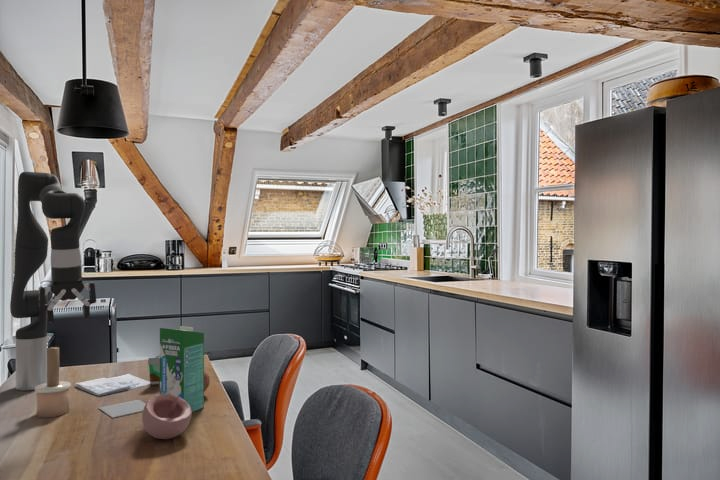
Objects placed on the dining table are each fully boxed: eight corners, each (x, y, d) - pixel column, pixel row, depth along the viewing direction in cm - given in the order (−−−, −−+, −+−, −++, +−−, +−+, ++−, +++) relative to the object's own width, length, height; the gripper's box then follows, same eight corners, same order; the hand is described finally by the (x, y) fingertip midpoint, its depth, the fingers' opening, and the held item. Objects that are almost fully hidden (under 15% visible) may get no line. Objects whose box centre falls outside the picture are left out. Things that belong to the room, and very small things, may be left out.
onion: (173, 398, 173) (173, 367, 173) (191, 391, 182) (191, 361, 182) (197, 402, 170) (197, 370, 170) (215, 394, 179) (215, 363, 179)
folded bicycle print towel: (73, 387, 187) (73, 381, 187) (130, 376, 203) (130, 370, 203) (98, 398, 175) (98, 392, 175) (156, 385, 190) (156, 379, 190)
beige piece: (31, 388, 159) (31, 347, 159) (65, 382, 166) (65, 343, 166) (39, 395, 153) (39, 352, 153) (74, 389, 159) (74, 348, 159)
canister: (33, 412, 159) (33, 388, 159) (64, 406, 165) (64, 383, 165) (40, 419, 153) (40, 394, 153) (72, 412, 159) (72, 389, 159)
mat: (98, 408, 163) (98, 407, 163) (138, 400, 171) (138, 399, 171) (112, 418, 154) (112, 417, 154) (154, 409, 163) (154, 408, 163)
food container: (163, 388, 185) (164, 359, 185) (147, 387, 186) (147, 358, 186) (182, 379, 197) (182, 351, 197) (167, 378, 199) (167, 350, 198)
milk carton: (204, 407, 165) (204, 325, 165) (182, 416, 156) (182, 329, 156) (181, 403, 168) (181, 323, 168) (159, 411, 160) (159, 327, 160)
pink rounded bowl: (162, 450, 131) (162, 403, 131) (132, 440, 138) (132, 395, 138) (201, 435, 142) (201, 391, 142) (170, 426, 148) (170, 384, 148)
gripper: (91, 260, 160) (93, 314, 161) (35, 264, 151) (38, 321, 153) (96, 263, 154) (99, 319, 156) (39, 268, 145) (42, 327, 147)
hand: (68, 320), depth 154 cm, fingers open, 8 cm apart
